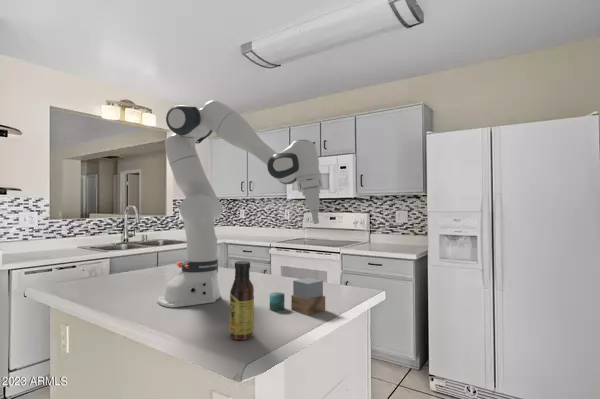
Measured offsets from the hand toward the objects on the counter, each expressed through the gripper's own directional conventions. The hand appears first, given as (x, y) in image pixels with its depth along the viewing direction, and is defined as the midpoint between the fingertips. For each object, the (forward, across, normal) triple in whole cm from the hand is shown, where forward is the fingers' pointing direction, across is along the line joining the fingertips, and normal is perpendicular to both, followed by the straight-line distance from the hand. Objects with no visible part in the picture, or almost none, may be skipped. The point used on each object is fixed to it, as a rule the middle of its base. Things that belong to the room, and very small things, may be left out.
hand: (316, 223), depth 124 cm
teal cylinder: (+26, +3, -18) cm, 32 cm away
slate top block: (+23, +4, -7) cm, 24 cm away
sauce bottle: (+27, +29, -25) cm, 47 cm away
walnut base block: (+28, +4, -7) cm, 29 cm away
